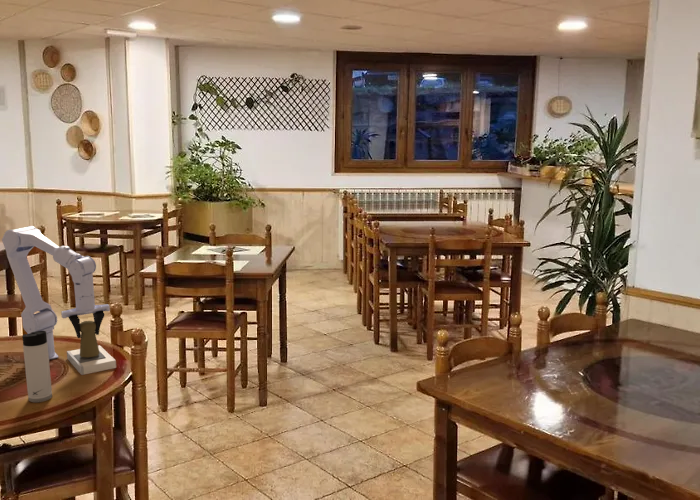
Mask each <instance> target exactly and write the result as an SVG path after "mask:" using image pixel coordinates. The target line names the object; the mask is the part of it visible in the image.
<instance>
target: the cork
mask: <svg viewBox="0 0 700 500" xmlns="http://www.w3.org/2000/svg"><path fill="white" fill-rule="evenodd" d="M95 329H96V324H95V322H94V320H85V321H80V334H81V338H80V342H79V343H80V347H79V349H80V356H81V357H94V356H97V355H99V348H98V346H99V345H98V340H97V335H96V334H95Z"/></svg>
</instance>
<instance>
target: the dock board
mask: <svg viewBox="0 0 700 500" xmlns="http://www.w3.org/2000/svg"><path fill="white" fill-rule="evenodd" d="M98 348H99V351H100V352H101V353H102V354H103V355H104V356H105V357H106V358H104V359H99V360H93V361H88V362H83V363H80V362H79V361H78V360H77V359H76V358H75V357H74V355H77V354H80V348H78V349H74V350H73V349H72V350H67V351H66V359H67V360H68V361H69V363H70V364H71V365H72V366H73V367H74V369H75V370H76V371H77V372H78V373H79V374H80V375H81V376H83V375H88V374H93V373H97V372H102V371H107V370H112V369H116V368H117V361H116V359H115V358H114V357H113V356H111V354H110V353H108V351H106V349H104V348H103V346H101V345H98Z"/></svg>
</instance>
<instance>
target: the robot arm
mask: <svg viewBox="0 0 700 500" xmlns="http://www.w3.org/2000/svg"><path fill="white" fill-rule="evenodd" d="M1 241H2V245H3V247H4V249H5V252H6V257H7V260H8V262H9V266H10V268H11V270H12V273H13V275H14V276H13V277H14V279H15V281H16V284H17V287H18V289H19V292H20V296H21V299H22V301H23V302H24V303H23V304H24V305H25V307H24V309H23V311H21V314H20V316H21V320H22V327H23V330H24V331H25V332H26V333H27V334H30V333H31V332H36V331H46V336H47V338H46V339H47V345H48V355H49V360H54V359H58V358H59V355H58V353H56V352H55V350H56V349H55V341H54V340H55V339H54V331H53V330H55V326H56V325H57V323H58V316H57V313H56V312H55V311H54V310H53V308H52V306H51V304H50V303H48V302H46V301H44V300H43V298H42V295H41V293H40V289H39V288H38V285H37V281H36V278H35V276H34V273H33V271H32V268H31V265H30V263H29V260H28V255H29V253H30V251H31V250H32V249H34V247H36V248H37V249H39V250H41V251H43V252H44V253H46V254H49V255H51V256H52V259H53V261H54V262H56V263H58V264H59V265H61V266H62V267H64V268H65V269H67V270H68V273H69V275H70V276H71V280H72V282H73V285H74V286H73V288H74V298H75V308H71V309H65V310H62V311H60V312H61V318H62V319H67V318H68V319H69V321H70V322H71V323H70V324H71V325H72V327H73V328H74V331H75V334H76V338H77V339H81V332H80V323H81V320H80V318H79V316H83V315H90V314H92V315H93V321H94V322H95V324H96V329H95V335H96V336H99V335H100V329H101V324H102V323H103V320H104V318H105V313H104V312H110V311H111V307H110V305H109V304H108V303H106V304H96V302H95V291H94V290H95V289H94V288H95V287H94V275H93V273H95V272H96V270H97V264H96V262H95V259H94V258H92V256H89V255H85V256H84V255H82V254H80V253H78V252H76V251H74V250H73V249H71V247H70V246H68V245H61V246H59V245H58V244H56V243H55V242H53V241H52V240H51V239H50V238H48V237H46V236H45V235H44V234H42V231H41V229H39V228H37V227H35V226H34V225H28V226H25V227H24V226H23V227H19V228H14V229H7V230H6V231H5V232H4V234H3V236H2V238H1Z"/></svg>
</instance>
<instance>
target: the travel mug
mask: <svg viewBox="0 0 700 500" xmlns="http://www.w3.org/2000/svg"><path fill="white" fill-rule="evenodd" d="M46 338H47V336H46V331H36V332H31V333H30V334H26V333H24V334H22V349H23V357H24V358H23V359H24V369H25V377H26V390H27V396H28V397H27V399H28V400H27V401H28V402H31V403H43V402H47V401H49V400H50V399H52V398H53V391H52V389H53V388H52V379H51V370H50V369H51V368H50V367H51V366H50V359H49V355H48V345H47V339H46Z"/></svg>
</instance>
